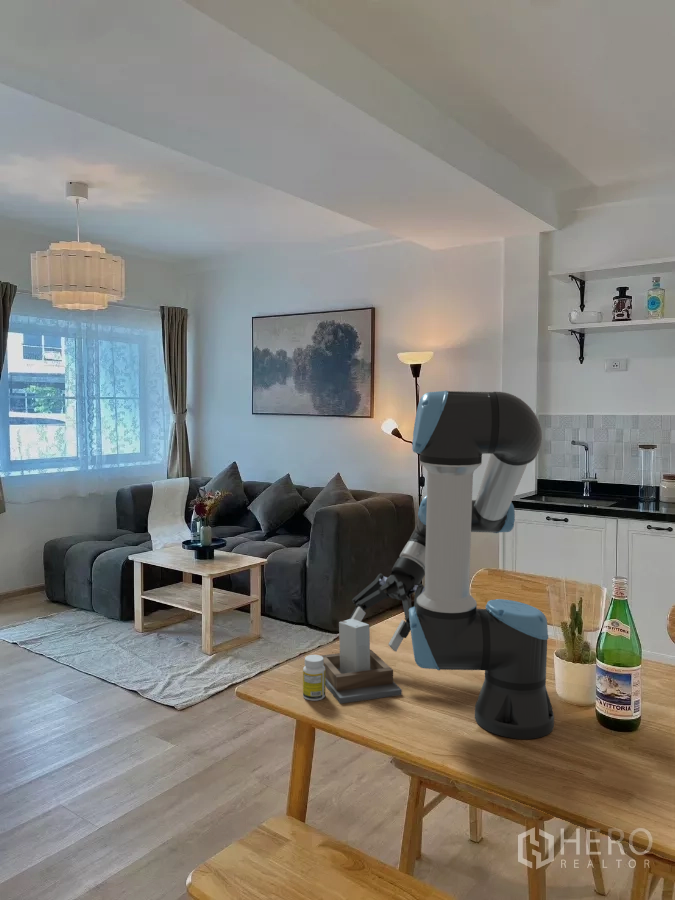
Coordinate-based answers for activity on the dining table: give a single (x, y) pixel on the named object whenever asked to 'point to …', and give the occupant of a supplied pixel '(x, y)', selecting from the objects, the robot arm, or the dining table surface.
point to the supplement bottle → (314, 678)
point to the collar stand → (359, 680)
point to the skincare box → (354, 646)
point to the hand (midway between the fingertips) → (369, 640)
